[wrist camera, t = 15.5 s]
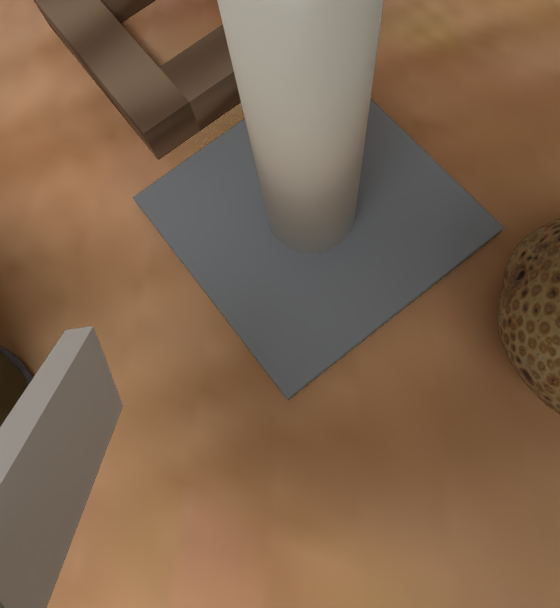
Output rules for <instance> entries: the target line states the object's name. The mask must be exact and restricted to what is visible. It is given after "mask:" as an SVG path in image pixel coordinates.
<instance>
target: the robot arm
mask: <svg viewBox="0 0 560 608" xmlns="http://www.w3.org/2000/svg"><path fill="white" fill-rule="evenodd" d="M122 407H123V405H122V402H121V400H120V397H119V394H118V391H117V389H116V386H115V383H114V381H113V378H112V375H111V373H110V370H109V367H108V364H107V362H106V359H105V356H104V354H103V351H102V348H101V346H100V343H99V340H98V338H97V335H96V332H95V329H94V327H93V326H90V327H83V328H76V329H69V330H65V332H64V333H63V335H62V336H61V337H60V339H59V340H58V342H57V343H56V345H55V346H54V348H53V349H52V351H51V352H50V354H49V355H48V357H47V358H46V360H45V361H44V363H43V364H42V366H41V367H40V369H39V370H38V372H37V373H36V375H35V376H34V378H33V379H32V381H31V382H30V384H29V385H28V387H27V388H26V389H25V391H24V392H23V394H22V395H21V397H20V398H19V400H18V401H17V403H16V404H15V406H14V407H13V409H12V410H11V412H10V413H9V415H8V416H7V418H6V419H5V421H4V422H3V424H2V425H1V427H0V608H47V605H48V602H49V600H50V597H51V595H52V592H53V589H54V587H55V584H56V581H57V579H58V576H59V573H60V571H61V568H62V565H63V563H64V560H65V558H66V555H67V552H68V550H69V547H70V544H71V542H72V539H73V536H74V534H75V531H76V529H77V526H78V523H79V521H80V518H81V515H82V513H83V510H84V507H85V505H86V502H87V500H88V497H89V494H90V492H91V489H92V486H93V484H94V481H95V478H96V476H97V473H98V470H99V468H100V465H101V463H102V460H103V457H104V455H105V452H106V449H107V447H108V444H109V441H110V439H111V436H112V434H113V431H114V428H115V426H116V423H117V420H118V418H119V415H120V412H121V410H122Z"/></svg>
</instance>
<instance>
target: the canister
mask: <svg viewBox="0 0 560 608" xmlns="http://www.w3.org/2000/svg"><path fill="white" fill-rule="evenodd" d="M32 379H33V376H32V374H31V373H30V372H29V371H28V369H27V368H26V367H25V365H24V364H23V363H22V361H21V360H20V359H19V358H18V357H17V356H16V355H14V354H13V353H11V352H10V351H8V350H7V349H5V348H3V347H1V346H0V427H1V425H2V424H3V422H4V421H5V419H6V418H7V416H8V415H9V413H10V412H11V410H12V409H13V407H14V406H15V404H16V403H17V401H18V400H19V398H20V397H21V395H22V394H23V392H24V391H25V389H26V388H27V387H28V385H29V384H30V382H31V381H32Z"/></svg>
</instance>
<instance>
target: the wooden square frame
mask: <svg viewBox="0 0 560 608" xmlns="http://www.w3.org/2000/svg"><path fill="white" fill-rule="evenodd" d="M153 1H155V0H34V2H35V3H36V5H37V7H38V8H39V10H40V11H41V13H42V14H43V16H44V17H45V19H46V21H47V22H48V24H49V25H50V27H51V28H52V29H53V30H54V32H55V33H56V34H57V35H58V37H59V38H60V39H61V40H62V41H63V43H64V44H65V45H66V46H67V48H68V49H69V50H70V51H71V53H72V54H73V55H74V56H75V58H76V59H77V60H78V61H79V62H80V64H81V65H82V66H83V67H84V69H85V70H86V71H87V72H88V74H89V75H90V76H91V77H92V78H93V80H94V81H95V82H96V83H97V85H98V86H99V87H100V88H101V90H102V91H103V92H104V93H105V95H106V96H107V97H108V98H109V99H110V101H111V102H112V103H113V104H114V106H115V107H116V108H117V109H118V111H119V112H120V113H121V114H122V116H123V117H124V118H125V119H126V120H127V122H128V123H129V124H130V125H131V127H132V128H133V129H134V130H135V132H136V133H137V134H138V135H139V136H140V138H141V139H142V140H143V141H144V143H145V144H146V145H147V146H148V148H149V149H150V150H151V151H152V153H153V154H154V155H155V156H156V157H157V159H160V158H161V157H163V156H164V155H166V154H167V153H168V152H170V151H171V150H173V149H174V148H176V147H177V146H179V145H180V144H181V143H183V142H184V141H186V140H187V139H189V138H190V137H191V136H193V135H194V134H196V133H197V132H199V131H200V130H201V129H203V128H204V127H206V126H207V125H209V124H210V123H211V122H213V121H214V120H216V119H217V118H219V117H220V116H221V115H223V114H224V113H226V112H227V111H229V110H230V109H232V108H233V107H234V106H236V105H237V104H239V103H240V102H241V100H240V96H239V92H238V87H237V83H236V79H235V74H234V70H233V66H232V62H231V57H230V53H229V49H228V44H227V40H226V36H225V32H224V27H223V25H222V26H220V27H219V28H217V29H216V30H214V31H213V32H211V33H210V34H208V35H207V36H205V37H204V38H202V39H201V40H199V41H198V42H196V43H195V44H193V45H192V46H190V47H189V48H187V49H186V50H184V51H183V52H181V53H180V54H178V55H177V56H176V57H174V58H173V59H171V60H170V61H168V62H167V63H165V64H164V65H162V66H161V67H158V66H157V65H156V63H155V62H154V61H153V60H152V59H151V58H150V57H149V55H148V54H147V53H146V52H145V51H144V50H143V49H142V47H141V46H140V45H139V44H138V43H137V42H136V41H135V39H134V38H133V37H132V36H131V35H130V34H129V33H128V31H127V30H126V29H125V28H124V27H123V26H122V25H121V22H123V21H124V20H126V19H127V18H129V17H130V16H132V15H133V14H135V13H136V12H138V11H139V10H141V9H142V8H144V7H146V6H147V5H149V4H150V3H152V2H153Z"/></svg>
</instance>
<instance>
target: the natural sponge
mask: <svg viewBox="0 0 560 608" xmlns="http://www.w3.org/2000/svg"><path fill="white" fill-rule="evenodd" d="M498 332H499V336H500V339H501V342H502V345H503V347H504V349H505V351H506V354H507V355H508V357H509V359H510V361H511V363H512V364H513V366H514V368H515V369H516V371H517V372H518V374H519V375H520V377H521V378H522V380H523V381H524V382H525V383H526V384H527V386H528V387H529V388H530V389H531V390H532V391H533V392H534V393H535V394H536V395H537V396H538V397H539V398H540V399H541V400H542V401H543V402H544V403H545V404H546V405H547V406H549V407H550V408H552V409H553V410H555V411H556V412H557V413H559V414H560V219H557V220H554V221H552V222H550V223H548V224H546V225H544V226H542V227H540V228H538V229H537V230H535V231H534V232H532V233H530V234H529V235H527V236H526V237H525V238H524V239H523V240H522V241H521V242H520V243H519V244H518V246H517V247H516V249H515V250H514V252H513V254H512V256H511V258H510V260H509V262H508V265H507V267H506V271H505V276H504V282H503V290H502V294H501V297H500V305H499V310H498Z"/></svg>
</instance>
